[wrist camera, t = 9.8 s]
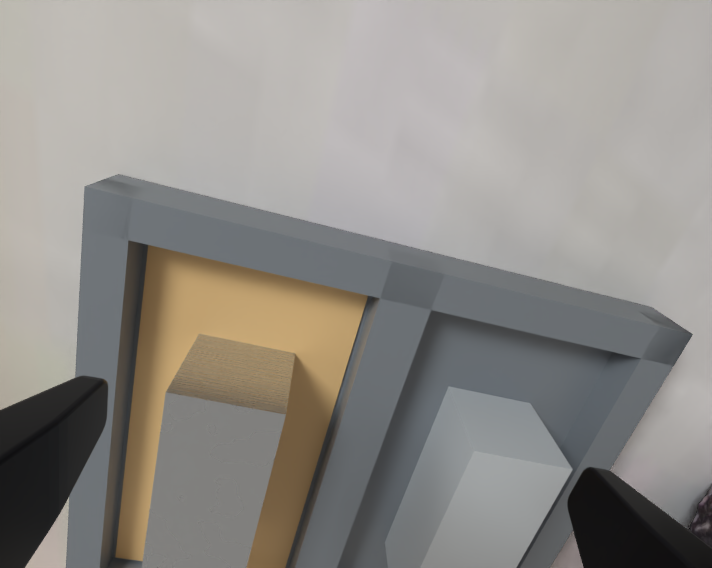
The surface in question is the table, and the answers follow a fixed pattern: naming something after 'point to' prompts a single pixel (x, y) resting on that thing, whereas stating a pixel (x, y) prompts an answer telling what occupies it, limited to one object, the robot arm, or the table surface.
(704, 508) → the mineral specimen
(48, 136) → the table surface
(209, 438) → the block
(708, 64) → the table surface
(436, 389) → the grey divided tray
